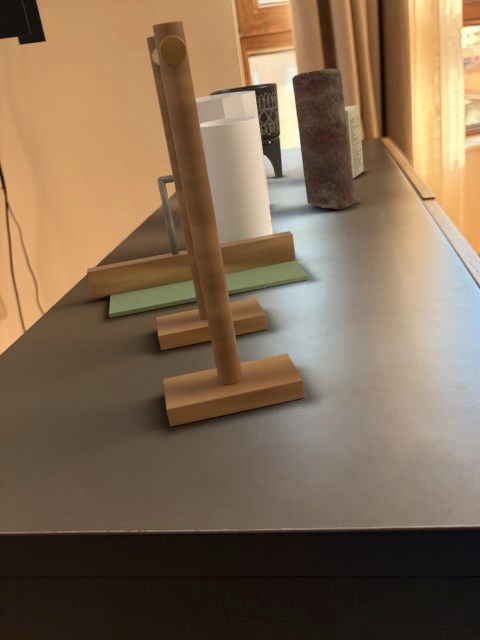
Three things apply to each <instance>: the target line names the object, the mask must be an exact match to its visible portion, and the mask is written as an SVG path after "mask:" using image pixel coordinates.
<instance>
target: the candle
mask: <svg viewBox="0 0 480 640" xmlns="http://www.w3.org/2000/svg"><path fill="white" fill-rule="evenodd" d="M291 81H292V82H291V83H292V89H293V95H294V96H293V97H294V104H295V112H296V119H297V120H296V121H297V129H298V134H299V143H300V144H299V145H300V152H301V161H302V169H303V177H304V185H305V193H306V200H307V204H309V205H312V206H314V207H320V208H321V209H331V210H335V211H336V210H345V209H347V208H348V207H350V206H351V205H353V204H354V203H355V189H354V178H352V169H351V162H350V153H349V144H348V134H347V125H346V115H345V95H344V84H343V78H342V71H341V70H340V69H338V68H326V69H320V70H311V71H309V72H307V71H306V72H301V73H298V74H295V75H294V76H293V77H292V78H291Z"/></svg>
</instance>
